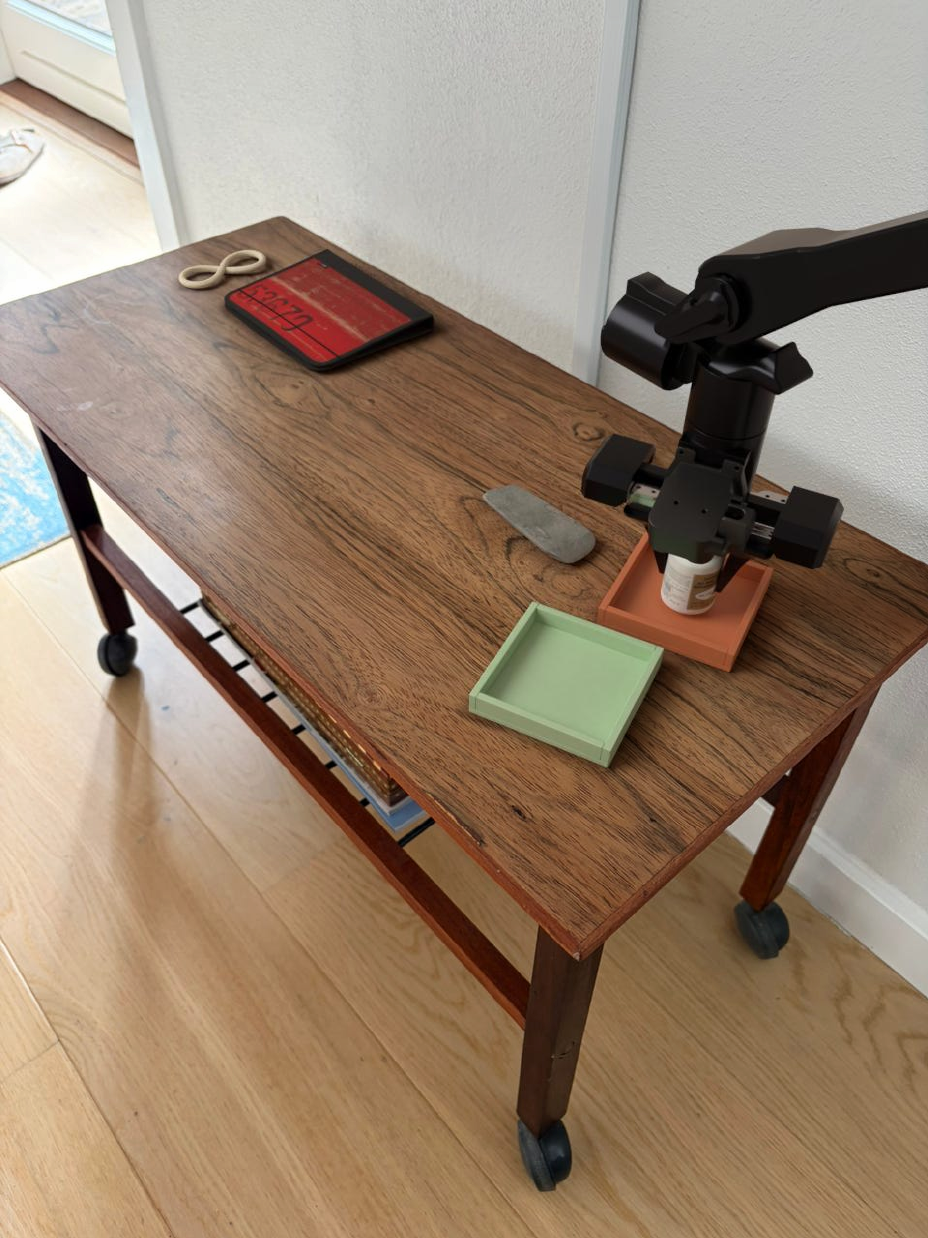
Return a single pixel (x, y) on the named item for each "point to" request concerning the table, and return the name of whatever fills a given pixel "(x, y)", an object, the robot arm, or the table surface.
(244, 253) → the decorative object
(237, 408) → the table surface
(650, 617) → the terracotta tray
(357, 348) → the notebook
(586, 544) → the stone
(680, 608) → the pill bottle
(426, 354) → the table surface
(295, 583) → the table surface
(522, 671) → the sage tray
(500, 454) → the table surface
